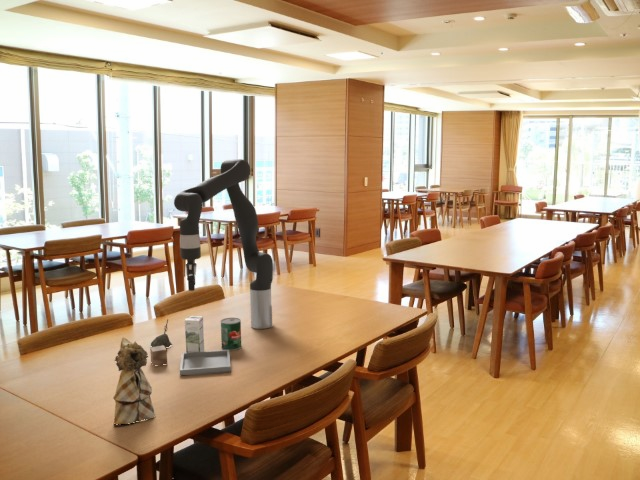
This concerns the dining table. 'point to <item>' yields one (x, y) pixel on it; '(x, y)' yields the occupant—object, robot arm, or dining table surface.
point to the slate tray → (205, 362)
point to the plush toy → (132, 385)
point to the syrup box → (194, 334)
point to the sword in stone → (161, 340)
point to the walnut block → (158, 355)
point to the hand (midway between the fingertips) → (192, 287)
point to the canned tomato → (231, 333)
